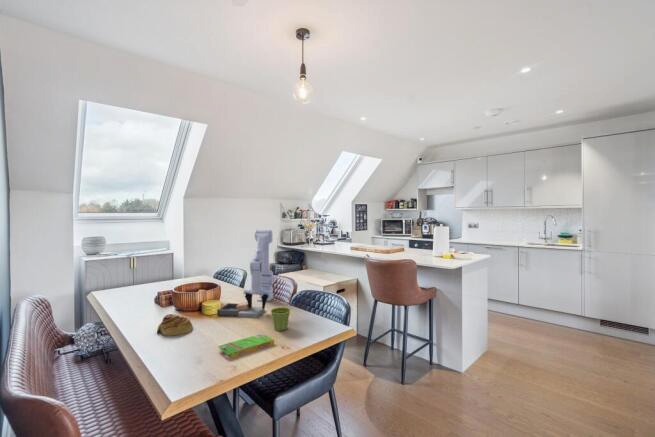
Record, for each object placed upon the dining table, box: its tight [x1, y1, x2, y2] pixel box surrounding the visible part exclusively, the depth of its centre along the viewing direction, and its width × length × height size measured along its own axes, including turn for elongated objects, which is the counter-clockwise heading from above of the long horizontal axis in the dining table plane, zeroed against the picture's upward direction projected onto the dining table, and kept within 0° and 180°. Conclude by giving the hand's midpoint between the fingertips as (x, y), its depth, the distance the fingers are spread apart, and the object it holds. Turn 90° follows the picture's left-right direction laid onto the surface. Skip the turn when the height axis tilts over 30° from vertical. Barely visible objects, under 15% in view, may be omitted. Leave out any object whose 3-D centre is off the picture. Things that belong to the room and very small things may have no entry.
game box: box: [217, 332, 275, 359], centre depth 128 cm, size 3×10×20 cm
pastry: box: [156, 313, 194, 337], centre depth 146 cm, size 13×15×8 cm
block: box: [236, 301, 249, 310], centre depth 173 cm, size 6×6×2 cm
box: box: [216, 302, 241, 318], centre depth 172 cm, size 12×12×3 cm
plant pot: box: [270, 307, 292, 332], centre depth 149 cm, size 9×9×9 cm
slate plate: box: [238, 305, 266, 318], centre depth 170 cm, size 12×10×2 cm
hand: (257, 307), depth 171 cm, fingers open, 7 cm apart
